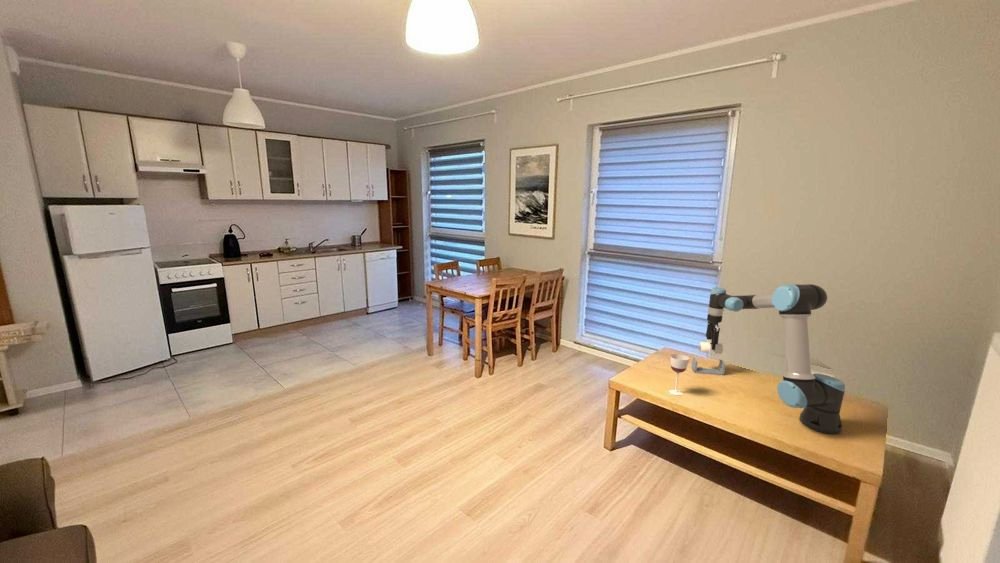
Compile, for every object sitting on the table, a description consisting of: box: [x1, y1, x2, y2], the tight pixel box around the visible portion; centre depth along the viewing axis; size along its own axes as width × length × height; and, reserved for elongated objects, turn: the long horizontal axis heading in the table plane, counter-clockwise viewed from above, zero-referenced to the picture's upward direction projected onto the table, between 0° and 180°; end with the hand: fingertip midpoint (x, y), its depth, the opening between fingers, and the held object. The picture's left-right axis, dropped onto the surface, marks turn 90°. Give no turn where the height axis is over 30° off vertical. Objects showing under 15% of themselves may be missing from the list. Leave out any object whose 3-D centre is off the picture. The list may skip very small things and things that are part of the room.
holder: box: [691, 357, 726, 376], centre depth 234 cm, size 6×16×7 cm, turn 79°
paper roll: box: [698, 341, 724, 355], centre depth 232 cm, size 11×6×6 cm, turn 79°
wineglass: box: [668, 353, 690, 396], centre depth 206 cm, size 8×9×20 cm
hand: (709, 352), depth 232 cm, fingers closed on paper roll, 6 cm apart
